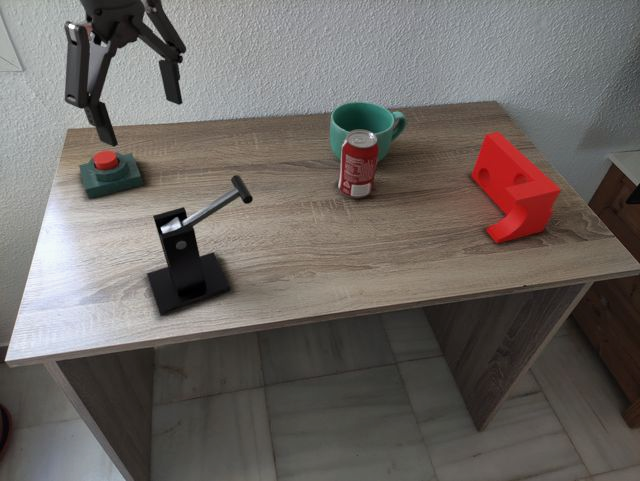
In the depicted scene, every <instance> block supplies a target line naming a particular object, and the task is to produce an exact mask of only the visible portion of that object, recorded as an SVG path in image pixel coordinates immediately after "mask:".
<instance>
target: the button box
mask: <svg viewBox="0 0 640 481" xmlns="http://www.w3.org/2000/svg"><path fill="white" fill-rule="evenodd" d="M113 152H114V153H115V154H116V156H117V159H118V162H119V164H118V166H117V167H115V168H113V169H110V170H106V171H104V170H99V169H97V167H96V165H95V162H94V156H93V157H91V158H90V160H89V161H88V162H87V163H83V164H79V165H78V168H79V172H80V175H81V180H82V184H83V187H84V190H85V194H86V195H87V198H88V199H93V198H97V197H100V196H105V195H108V194H113V193H116V192H120V191H124V190H128V189H133V188H136V187H139V186H143V185H144V182H143V178H142V175H141V172H140V170H139V167H138V164H137V162H136V160H135V158H134V154H133V152H130V153H126V154H121V153H120V152H118V151H117V152H116V151H113Z"/></svg>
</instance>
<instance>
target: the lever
mask: <svg viewBox="0 0 640 481" xmlns="http://www.w3.org/2000/svg"><path fill="white" fill-rule="evenodd" d="M230 182H231V184H232V185H233V188H232V189H230V190H229V191H227V192H226V193H224V194H223V195H221V196H220V197H218V198H216V199H214V200H213V201H211V202H210V203H209V204H207V205H205V206H204V207H202V208H201V209H199V210H198V211H196V212H194V213H193V214H191V215H189V216H187V219H185V220H183V221H181V220H180V219H179V218H178V217H176V218H174V219H173V220H171V221H170V222H168V223H167V224H165V225H163V226H162V227H161V230H162V233H166V232H170V231H173V230H176V229H180V228H183V227H187V226H190V225H192V226H193V227H194V226H197V225H198V224H199V223H201V222H202V221H204V220H205V219H207V218H209V217H210V216H212V215H214V214H216V212H218V211H220V210H222V209H223V208H225V207H226V206H228V205H230V204H231V203H232V202H234V201H235V200H237V199H239V198H240V199H241V201H242V202H243V204H245V205H249V204H251V203H252V202H253V200H254V197H253V195H252V194H251V192H250V191H249V189H248V187H247V186H246V184H245V182H244V181H243V179H242V178H241V176H240V175H239V174H236V175H235V174H234V175H233V176H232V177H231V179H230Z"/></svg>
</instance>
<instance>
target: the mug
mask: <svg viewBox="0 0 640 481" xmlns="http://www.w3.org/2000/svg"><path fill="white" fill-rule="evenodd" d="M396 121H398V122H397V123H396V125H395V122H396ZM329 125H330V127H329V145H330V149H331V151H332V153H333V154H334V156H335V157H336V158H337V159H338V160H339V161H341V151H342V143H343V141H344V140H345V139H346V136H347V134H348V133H349V132H351V131H353V130H367V131H370V132H372V133H373V134H374V135H375V136H376V137H377V143H378V145H379V153H378V159H377V163H380V161H382V160H383V159H384V158H385V157H386V156H387V155H388V152H389V150H390V147H391V143H392V142H393V141H395V140H396V139H397V138H398V137H399V136H400V135H401V134H402V133H403V132H404V130H405V128H406V126H407V117H406V115H405V114H404V113H403V112H401V111H393V112H391V111H389V110H388V109H387V108H385V107H384V106H382V105H379V104H377V103H373V102H368V101H349V102H345V103H342V104H340V105H339V106H337V107H335V108H334V109H333V111H332V113H331V115H330V124H329Z"/></svg>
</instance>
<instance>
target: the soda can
mask: <svg viewBox="0 0 640 481" xmlns="http://www.w3.org/2000/svg"><path fill="white" fill-rule="evenodd" d="M378 153H379V145H378V143H377V137H376V136H375V135H374V134H373V133H372V132H370V131H367V130H353V131H351V132H349V133H348V134H347V136H346V139H345V140H344V141H343V143H342V151H341V160H340V163H339V174H338V184H337V186H338V190H339V191H340V193H341V194H342V195H344V196H346V197H348V198H352V199H362V198H366V197H367V196H369V195H370V194H371V193H372V192H373V189H374V184H375V183H374V182H375V177H376V172H377V171H376V170H377V165H378V162H377V159H378Z"/></svg>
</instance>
